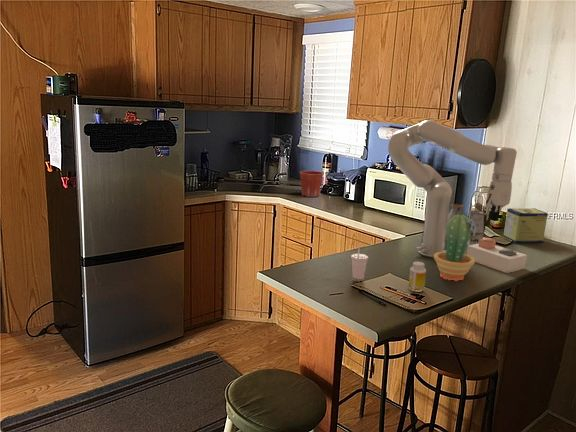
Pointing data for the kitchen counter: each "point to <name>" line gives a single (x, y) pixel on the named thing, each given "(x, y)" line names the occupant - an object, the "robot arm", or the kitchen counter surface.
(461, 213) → the coffee pot
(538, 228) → the protein box
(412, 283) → the supplement bottle
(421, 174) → the robot arm
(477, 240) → the coffee box
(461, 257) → the potted cactus
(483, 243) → the terracotta button
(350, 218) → the kitchen counter surface
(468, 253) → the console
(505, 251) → the charcoal button
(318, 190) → the flower pot
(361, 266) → the smoothie
